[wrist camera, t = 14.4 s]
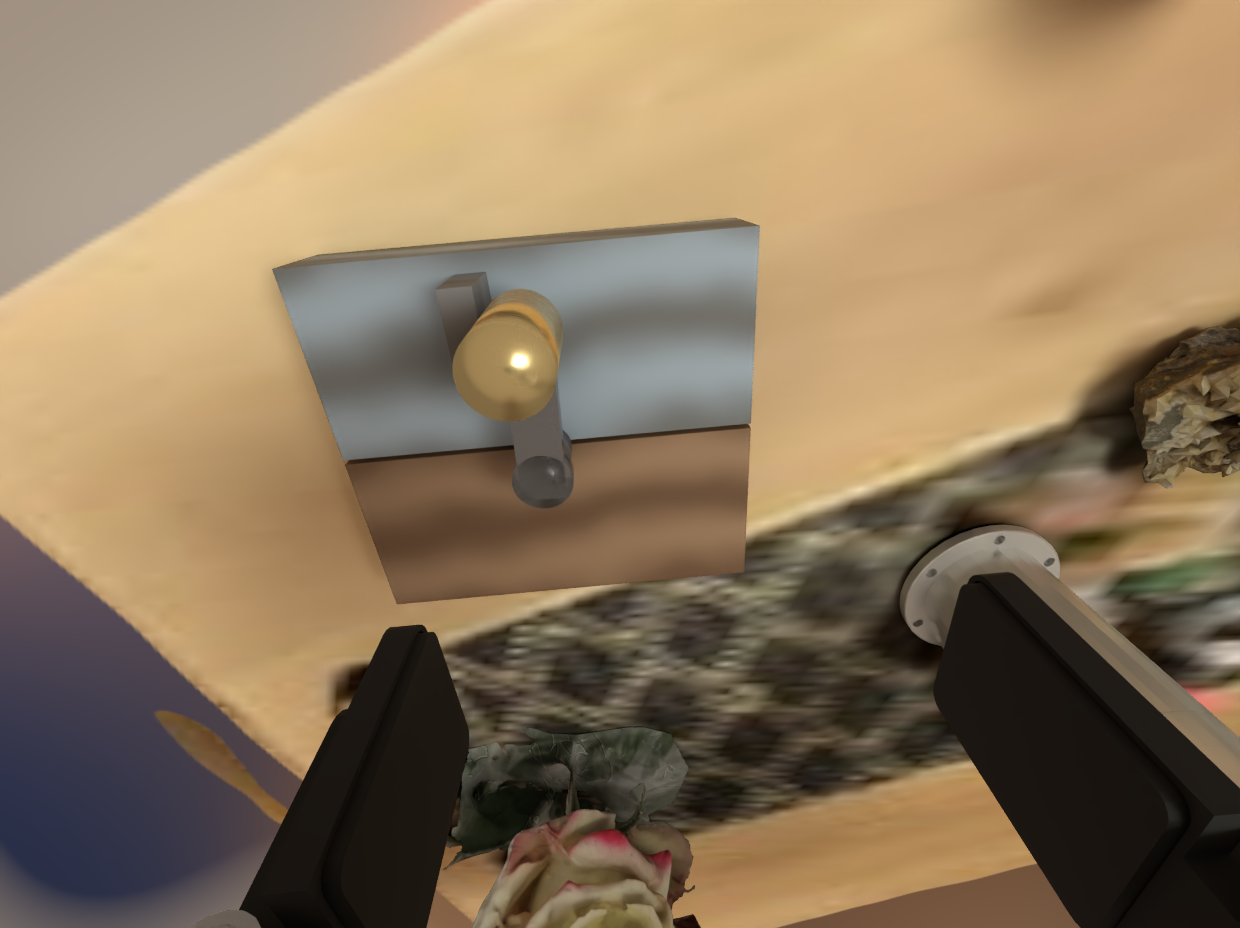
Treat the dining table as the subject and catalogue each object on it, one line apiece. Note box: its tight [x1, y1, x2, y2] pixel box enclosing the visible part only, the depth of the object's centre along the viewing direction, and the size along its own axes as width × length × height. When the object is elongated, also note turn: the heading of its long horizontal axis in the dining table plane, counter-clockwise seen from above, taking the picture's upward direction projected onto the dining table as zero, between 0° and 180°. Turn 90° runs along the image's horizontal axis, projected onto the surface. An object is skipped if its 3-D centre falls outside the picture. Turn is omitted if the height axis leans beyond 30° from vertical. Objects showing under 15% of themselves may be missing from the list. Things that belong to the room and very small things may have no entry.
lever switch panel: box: [272, 218, 760, 604], centre depth 32 cm, size 22×24×9 cm
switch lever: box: [452, 289, 574, 508], centre depth 24 cm, size 11×4×7 cm, turn 2°
